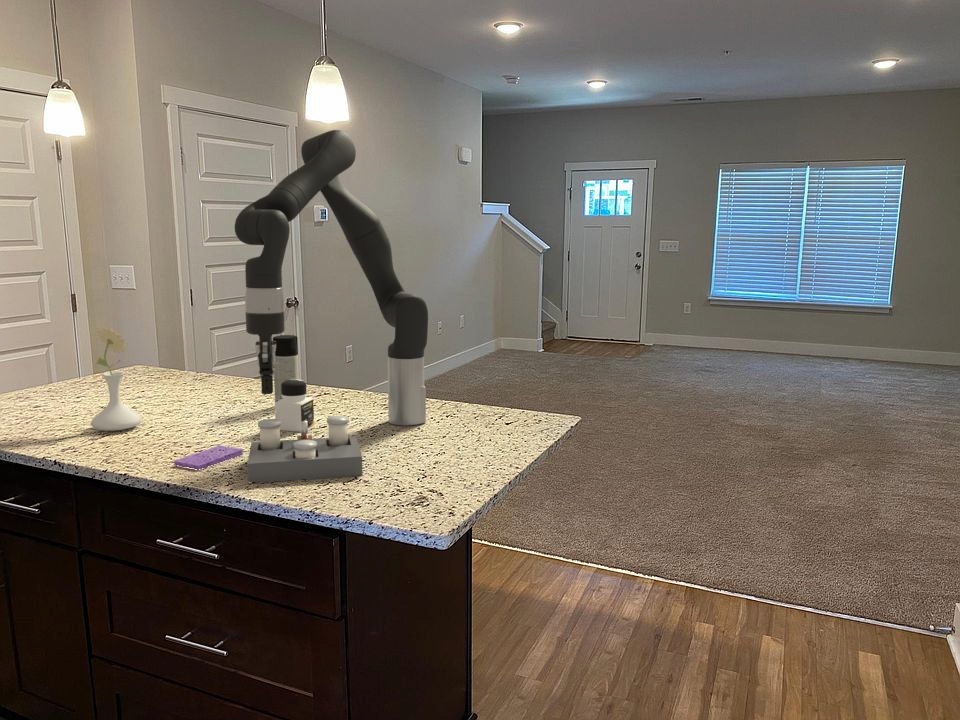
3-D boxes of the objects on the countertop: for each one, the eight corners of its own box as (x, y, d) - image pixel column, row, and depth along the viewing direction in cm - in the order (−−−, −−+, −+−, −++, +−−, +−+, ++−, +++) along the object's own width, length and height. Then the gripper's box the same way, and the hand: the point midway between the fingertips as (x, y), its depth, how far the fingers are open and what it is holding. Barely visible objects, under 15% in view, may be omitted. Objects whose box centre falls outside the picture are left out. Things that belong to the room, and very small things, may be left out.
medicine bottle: (302, 432, 177) (300, 384, 175) (275, 430, 178) (273, 382, 176) (314, 424, 184) (313, 378, 182) (288, 423, 185) (286, 377, 183)
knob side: (317, 466, 150) (316, 439, 149) (317, 473, 146) (317, 445, 145) (294, 467, 149) (293, 440, 148) (294, 475, 145) (293, 447, 144)
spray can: (304, 405, 204) (302, 335, 200) (290, 411, 198) (288, 338, 194) (284, 403, 206) (281, 334, 202) (270, 409, 200) (267, 337, 196)
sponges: (243, 456, 159) (242, 448, 159) (198, 473, 148) (197, 464, 148) (219, 452, 162) (219, 444, 162) (173, 468, 151) (173, 459, 151)
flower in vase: (150, 428, 179) (143, 328, 175) (101, 437, 171) (92, 332, 166) (129, 418, 188) (121, 323, 183) (81, 427, 180) (72, 326, 175)
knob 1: (282, 444, 155) (281, 418, 154) (281, 451, 150) (280, 424, 149) (259, 446, 153) (258, 419, 152) (258, 452, 149) (257, 425, 148)
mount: (356, 453, 161) (355, 436, 160) (362, 475, 146) (362, 456, 146) (252, 460, 155) (251, 442, 154) (248, 483, 141) (247, 463, 140)
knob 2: (348, 440, 158) (348, 415, 157) (350, 446, 154) (349, 420, 153) (327, 442, 157) (326, 416, 156) (328, 448, 152) (327, 421, 151)
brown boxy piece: (311, 441, 155) (311, 419, 154) (312, 445, 152) (311, 422, 151) (297, 442, 154) (296, 420, 154) (297, 446, 152) (296, 423, 151)
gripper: (283, 313, 141) (285, 399, 144) (284, 306, 154) (286, 386, 157) (243, 313, 140) (246, 401, 143) (247, 306, 152) (250, 387, 155)
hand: (267, 393), depth 150 cm, fingers closed
